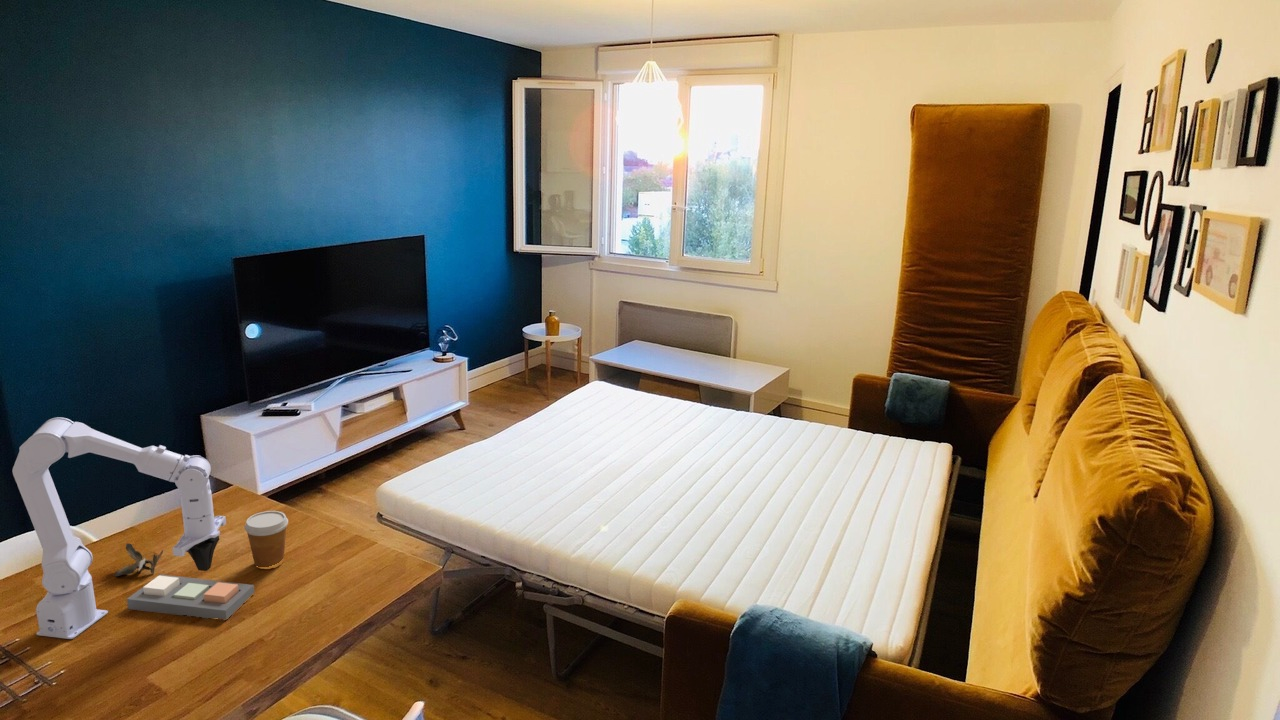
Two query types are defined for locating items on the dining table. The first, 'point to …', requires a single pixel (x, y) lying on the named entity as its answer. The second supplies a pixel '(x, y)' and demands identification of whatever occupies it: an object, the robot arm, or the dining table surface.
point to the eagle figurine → (138, 562)
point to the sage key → (191, 591)
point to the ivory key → (161, 586)
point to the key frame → (190, 601)
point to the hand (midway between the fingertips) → (204, 569)
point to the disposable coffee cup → (267, 537)
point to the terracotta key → (221, 593)
